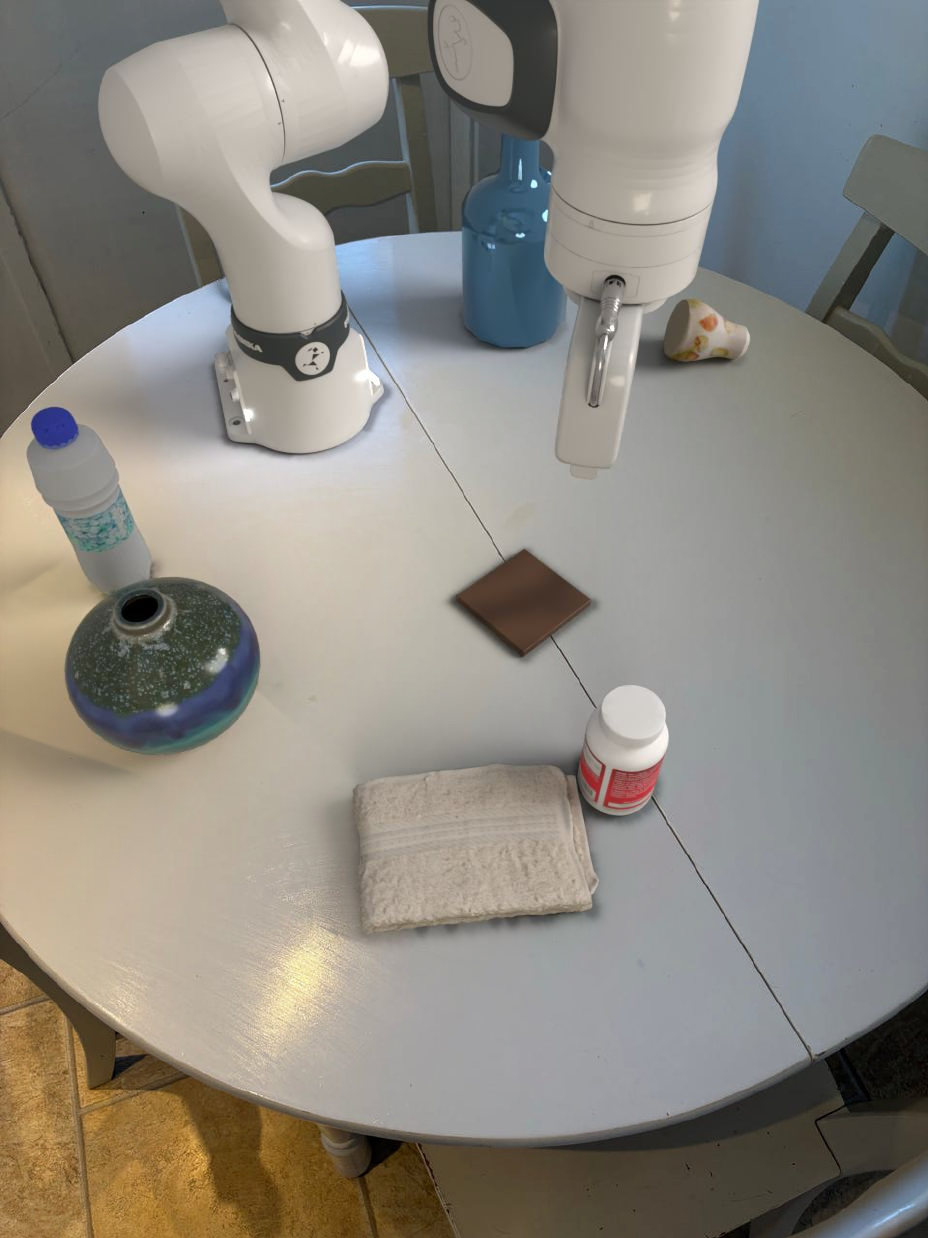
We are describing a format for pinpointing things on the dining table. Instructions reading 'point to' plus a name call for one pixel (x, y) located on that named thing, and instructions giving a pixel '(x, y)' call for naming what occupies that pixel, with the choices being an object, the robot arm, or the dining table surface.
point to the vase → (163, 665)
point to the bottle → (87, 500)
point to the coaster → (523, 601)
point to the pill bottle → (623, 750)
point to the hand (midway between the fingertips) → (592, 424)
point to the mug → (702, 334)
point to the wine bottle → (510, 252)
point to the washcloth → (471, 846)
